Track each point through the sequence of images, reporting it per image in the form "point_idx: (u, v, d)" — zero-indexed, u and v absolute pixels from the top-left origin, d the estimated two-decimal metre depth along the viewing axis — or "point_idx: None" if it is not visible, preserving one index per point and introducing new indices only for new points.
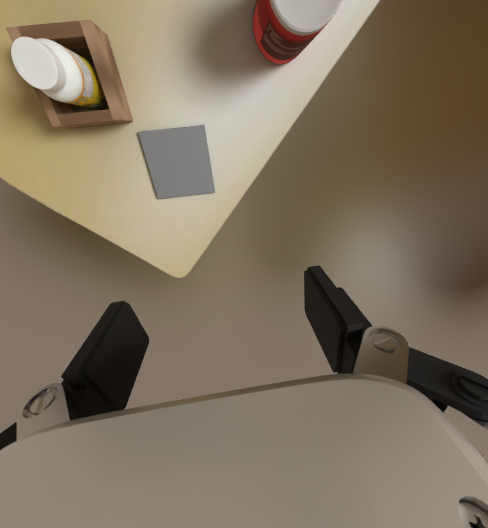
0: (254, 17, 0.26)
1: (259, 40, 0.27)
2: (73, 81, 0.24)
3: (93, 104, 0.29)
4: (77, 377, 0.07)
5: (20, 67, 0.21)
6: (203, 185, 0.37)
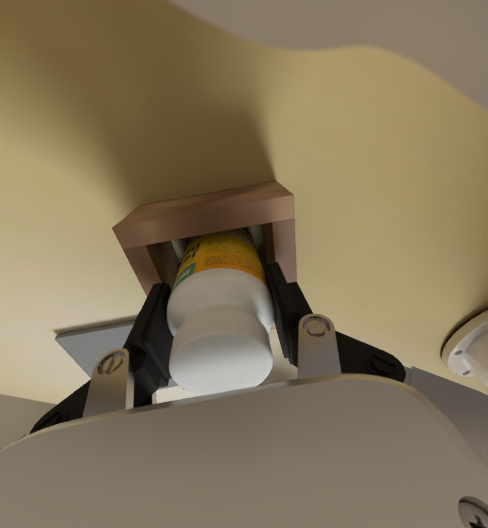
0: None
1: None
2: None
3: None
4: (139, 343, 0.08)
5: (209, 345, 0.07)
6: None
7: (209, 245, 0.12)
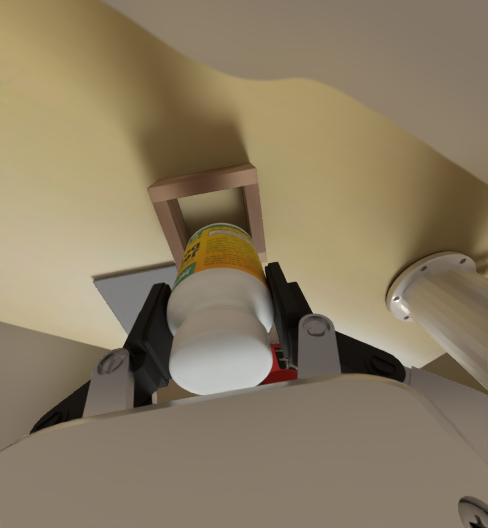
0: (273, 354, 0.34)
1: None
2: None
3: None
4: (139, 343, 0.08)
5: (209, 345, 0.07)
6: None
7: (209, 245, 0.12)
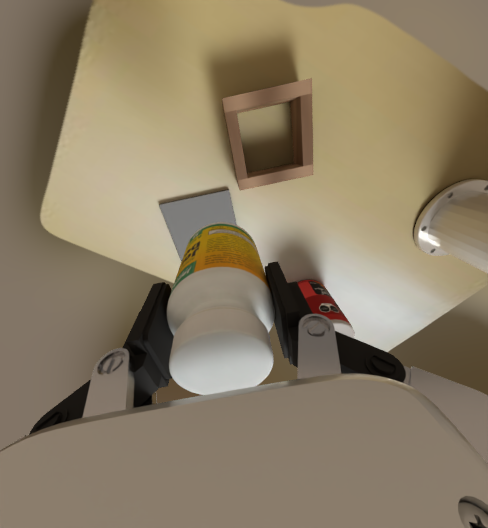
0: (309, 285, 0.37)
1: None
2: None
3: None
4: (140, 343, 0.08)
5: (209, 344, 0.07)
6: None
7: (209, 244, 0.12)
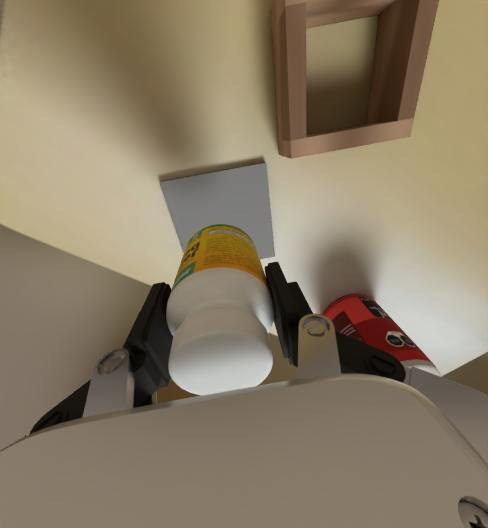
0: (360, 303, 0.27)
1: (345, 310, 0.27)
2: None
3: None
4: (139, 343, 0.08)
5: (209, 345, 0.07)
6: None
7: (209, 244, 0.12)
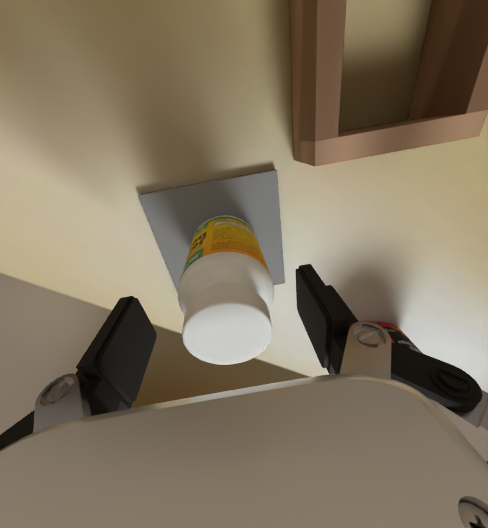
0: None
1: None
2: None
3: None
4: (91, 368, 0.07)
5: (217, 314, 0.09)
6: None
7: (215, 233, 0.13)
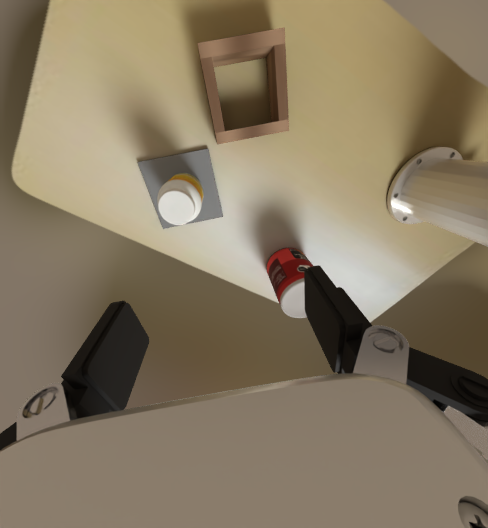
0: (289, 252, 0.38)
1: (278, 257, 0.38)
2: None
3: None
4: (77, 377, 0.07)
5: (170, 196, 0.23)
6: None
7: (175, 177, 0.28)
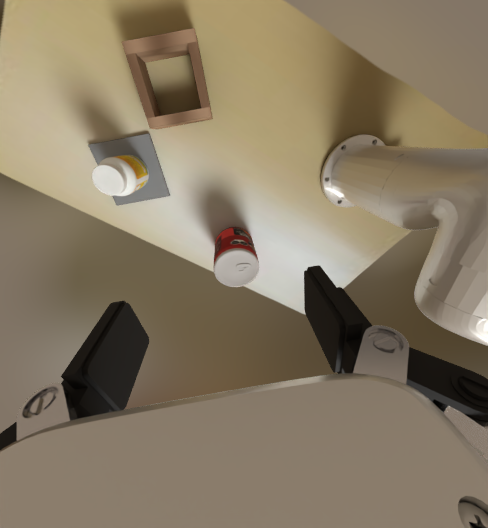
0: (232, 230, 0.42)
1: (222, 234, 0.42)
2: None
3: None
4: (77, 377, 0.07)
5: (101, 169, 0.28)
6: None
7: None
